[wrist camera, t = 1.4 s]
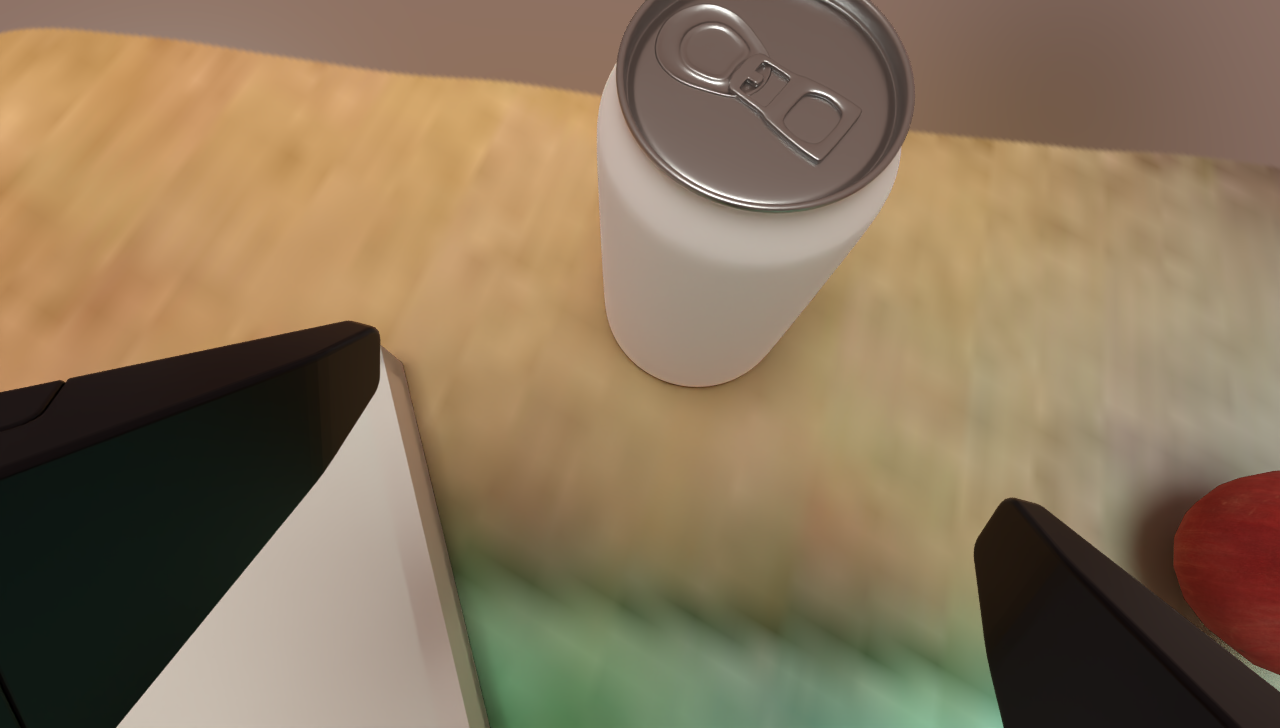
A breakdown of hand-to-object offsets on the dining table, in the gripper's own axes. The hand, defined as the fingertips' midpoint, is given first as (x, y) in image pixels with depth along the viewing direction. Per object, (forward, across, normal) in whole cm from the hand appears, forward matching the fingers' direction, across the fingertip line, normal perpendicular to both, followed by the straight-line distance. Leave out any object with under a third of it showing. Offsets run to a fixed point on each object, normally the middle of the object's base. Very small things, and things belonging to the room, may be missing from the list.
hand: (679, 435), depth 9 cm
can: (+14, 0, +4) cm, 15 cm away
